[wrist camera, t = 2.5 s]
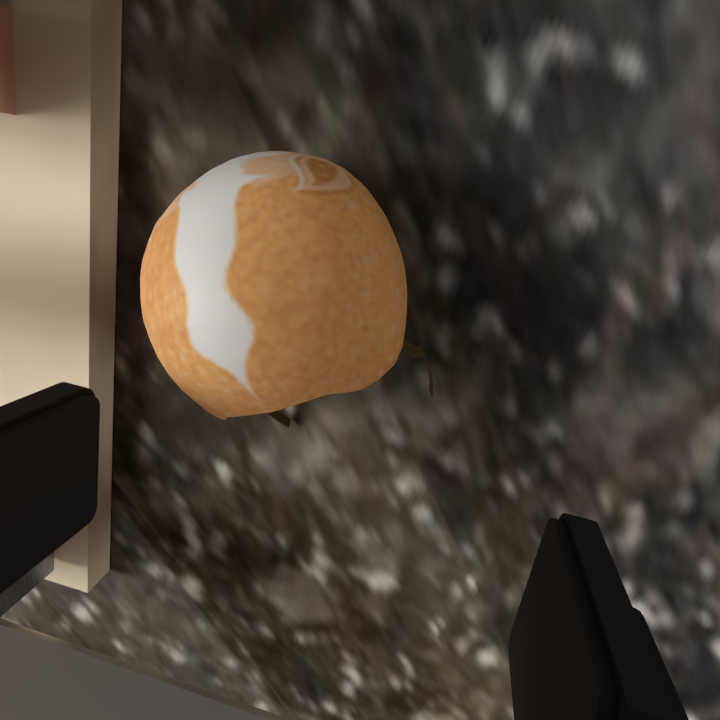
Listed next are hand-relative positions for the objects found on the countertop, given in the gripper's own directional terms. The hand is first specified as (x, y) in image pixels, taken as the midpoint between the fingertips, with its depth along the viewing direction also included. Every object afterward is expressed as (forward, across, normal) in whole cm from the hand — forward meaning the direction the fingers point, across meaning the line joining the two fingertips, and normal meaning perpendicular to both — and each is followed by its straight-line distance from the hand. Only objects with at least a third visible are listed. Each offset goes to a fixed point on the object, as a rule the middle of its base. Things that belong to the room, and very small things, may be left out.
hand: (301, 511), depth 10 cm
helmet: (+6, 0, 0) cm, 6 cm away
